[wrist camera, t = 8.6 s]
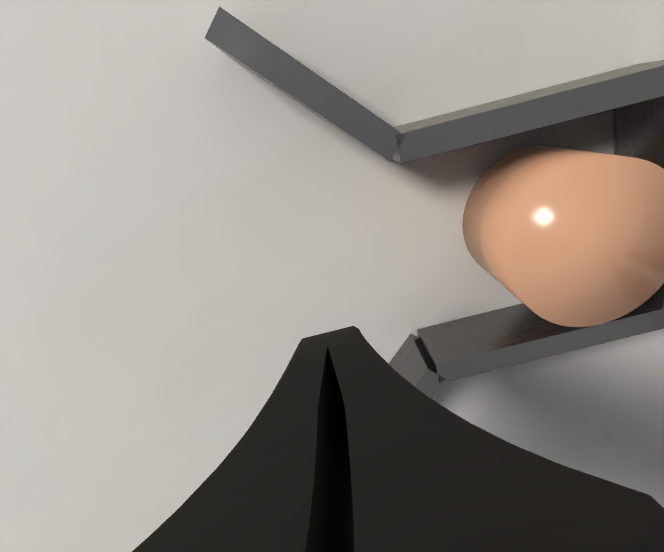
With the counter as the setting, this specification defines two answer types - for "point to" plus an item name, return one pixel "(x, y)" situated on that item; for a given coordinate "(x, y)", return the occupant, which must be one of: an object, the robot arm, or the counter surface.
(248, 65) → the gray zigzag divider
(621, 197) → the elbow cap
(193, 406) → the counter surface
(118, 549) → the counter surface
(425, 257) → the counter surface
